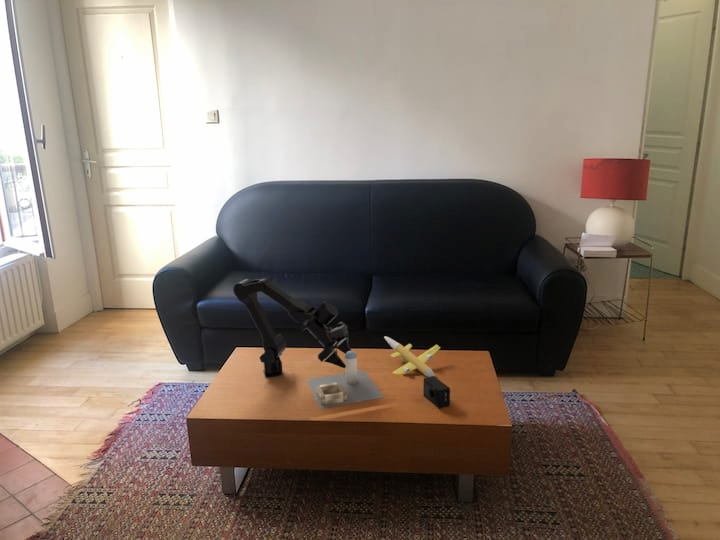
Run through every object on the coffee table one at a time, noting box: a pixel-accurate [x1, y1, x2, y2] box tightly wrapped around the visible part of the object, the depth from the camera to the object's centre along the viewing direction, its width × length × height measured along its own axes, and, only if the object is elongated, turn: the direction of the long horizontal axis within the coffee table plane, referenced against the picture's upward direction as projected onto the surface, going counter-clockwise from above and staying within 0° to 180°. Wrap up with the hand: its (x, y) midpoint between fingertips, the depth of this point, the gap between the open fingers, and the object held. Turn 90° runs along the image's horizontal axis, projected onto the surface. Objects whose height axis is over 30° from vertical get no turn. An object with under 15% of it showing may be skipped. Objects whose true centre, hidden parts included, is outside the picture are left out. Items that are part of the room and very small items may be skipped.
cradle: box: [316, 383, 347, 405], centre depth 189 cm, size 9×9×3 cm
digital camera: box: [423, 376, 451, 409], centre depth 186 cm, size 10×5×7 cm, turn 25°
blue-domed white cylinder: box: [344, 350, 358, 384], centre depth 199 cm, size 4×4×12 cm
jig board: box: [305, 370, 385, 410], centre depth 196 cm, size 23×23×1 cm
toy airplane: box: [383, 336, 441, 378], centre depth 215 cm, size 26×7×30 cm
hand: (349, 362), depth 199 cm, fingers open, 9 cm apart
